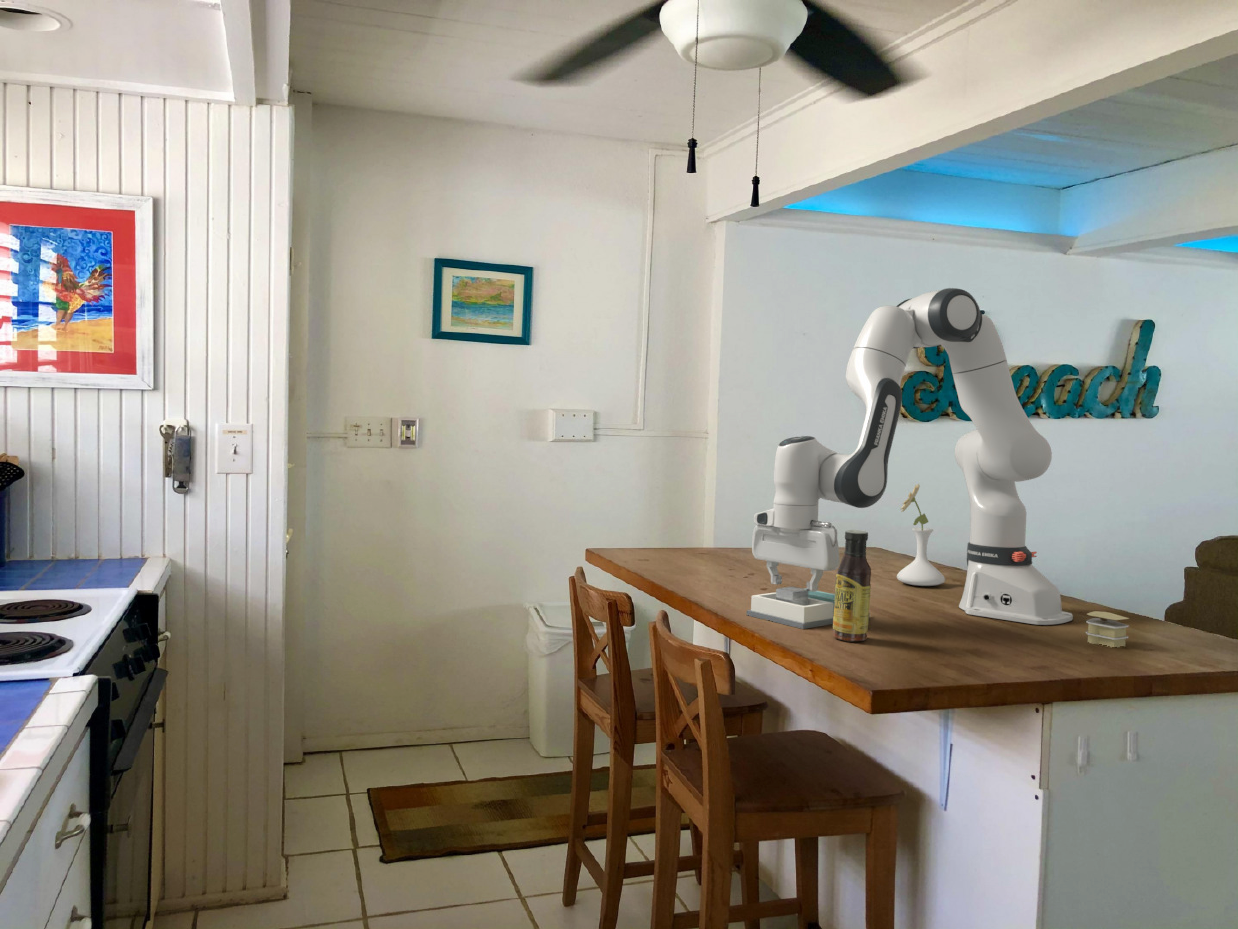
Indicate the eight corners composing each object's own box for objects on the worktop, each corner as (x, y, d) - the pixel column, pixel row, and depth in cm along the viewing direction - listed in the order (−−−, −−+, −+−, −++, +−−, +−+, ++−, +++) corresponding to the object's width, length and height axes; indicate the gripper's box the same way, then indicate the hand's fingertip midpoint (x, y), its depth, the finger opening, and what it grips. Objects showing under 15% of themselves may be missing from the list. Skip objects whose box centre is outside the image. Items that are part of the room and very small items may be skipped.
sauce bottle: (825, 636, 178) (829, 529, 177) (853, 634, 181) (857, 528, 180) (847, 644, 172) (851, 533, 171) (875, 642, 175) (880, 532, 174)
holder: (869, 617, 197) (870, 598, 196) (802, 629, 184) (803, 608, 184) (812, 605, 208) (813, 586, 208) (746, 615, 196) (747, 595, 196)
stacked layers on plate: (1145, 649, 176) (1147, 619, 176) (1114, 653, 172) (1116, 623, 172) (1096, 637, 185) (1097, 608, 185) (1065, 641, 181) (1066, 612, 181)
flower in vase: (911, 579, 246) (915, 481, 245) (953, 586, 238) (957, 484, 237) (883, 584, 237) (887, 482, 236) (925, 591, 229) (930, 486, 228)
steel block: (807, 614, 193) (808, 590, 193) (792, 617, 190) (793, 592, 190) (790, 611, 196) (791, 586, 196) (775, 613, 194) (776, 588, 193)
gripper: (847, 522, 186) (845, 593, 187) (769, 512, 202) (767, 578, 203) (825, 524, 182) (824, 597, 183) (747, 514, 198) (746, 581, 199)
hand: (793, 587), depth 193 cm, fingers open, 8 cm apart
